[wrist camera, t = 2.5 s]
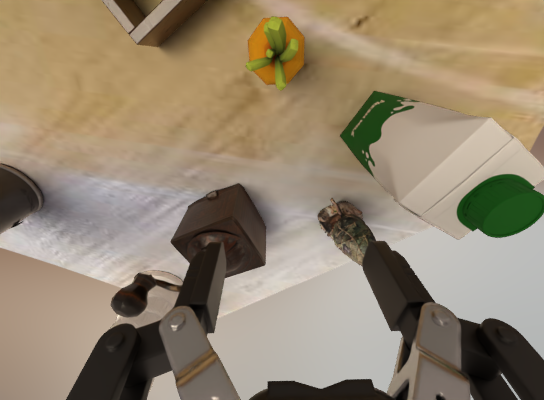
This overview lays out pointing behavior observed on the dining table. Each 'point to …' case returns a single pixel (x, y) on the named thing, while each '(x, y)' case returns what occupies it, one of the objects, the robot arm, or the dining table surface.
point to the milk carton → (447, 166)
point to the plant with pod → (346, 229)
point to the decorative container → (154, 303)
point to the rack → (152, 19)
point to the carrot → (276, 51)
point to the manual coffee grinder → (195, 237)
